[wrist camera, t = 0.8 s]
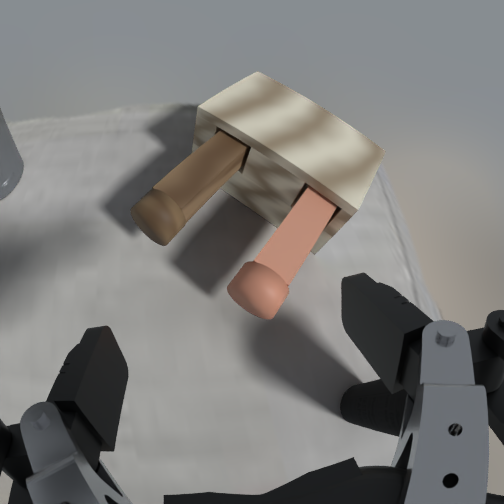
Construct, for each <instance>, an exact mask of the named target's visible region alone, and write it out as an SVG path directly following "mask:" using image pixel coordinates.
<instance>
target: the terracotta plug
mask: <svg viewBox="0 0 504 504" xmlns="http://www.w3.org/2000/svg"><path fill="white" fill-rule="evenodd" d="M337 206H338V205H336V204H335V203H333V202H332V201H331V200H329V199H328V198H326V197H325V196H324V195H322V194H321V193H319V192H318V191H317V190H315V189H314V188H312V187H311V186H310V185H309V187H308V188H307V189H306V191H305V192H304V193H303V195H302V196H301V197H300V199H299V200H298V201H297V203H296V204H295V206H294V207H293V208H292V210H291V211H290V212H289V214H288V215H287V216H286V218H285V219H284V220H283V222H282V223H281V224H280V226H279V227H278V229H277V230H276V231H275V233H274V234H273V235H272V237H271V238H270V239H269V241H268V242H267V243H266V245H265V246H264V247H263V249H262V250H261V251H260V253H259V254H258V256H257V257H256V258H255V260H254V261H253V262H246V263H245V264H244V265H243V266H242V268H241V269H240V270H239V272H238V273H237V274H236V276H235V277H234V278H233V280H232V281H231V282H230V284H229V285H228V286H227V291H228V293H229V295H230V296H231V297H232V299H233V300H234V301H235V302H236V303H237V304H238V305H240V306H241V307H242V308H243V309H245V310H246V311H248V312H250V313H251V314H253V315H255V316H257V317H260V318H263V319H272V318H273V317H274V316H275V314H276V313H277V311H278V309H279V308H280V306H281V305H282V303H283V302H284V300H285V299H286V297H287V295H288V294H289V288H288V286H289V285H290V283H291V281H292V280H293V278H294V277H295V275H296V273H297V272H298V270H299V269H300V267H301V265H302V264H303V262H304V261H305V259H306V257H307V256H308V254H309V253H310V251H311V249H312V248H313V246H314V244H315V243H316V241H317V239H318V238H319V236H320V234H321V233H322V231H323V229H324V228H325V226H326V224H327V223H328V221H329V219H330V218H331V216H332V214H333V213H334V211H335V209H336V208H337Z"/></svg>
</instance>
